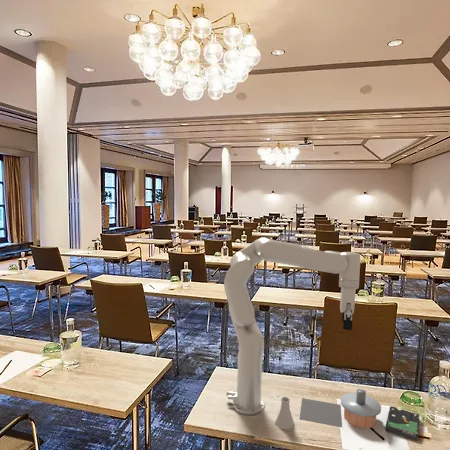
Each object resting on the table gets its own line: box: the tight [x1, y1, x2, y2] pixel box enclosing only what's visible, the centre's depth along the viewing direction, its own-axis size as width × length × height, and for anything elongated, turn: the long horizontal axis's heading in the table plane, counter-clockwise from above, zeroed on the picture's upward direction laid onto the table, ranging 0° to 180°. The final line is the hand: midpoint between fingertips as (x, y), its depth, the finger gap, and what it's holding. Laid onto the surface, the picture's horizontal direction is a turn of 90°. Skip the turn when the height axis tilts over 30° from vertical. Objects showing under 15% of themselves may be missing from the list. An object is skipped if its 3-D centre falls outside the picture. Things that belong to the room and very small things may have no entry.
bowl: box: [343, 407, 377, 429], centre depth 133 cm, size 11×11×6 cm
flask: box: [274, 396, 295, 431], centre depth 129 cm, size 7×7×10 cm
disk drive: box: [385, 406, 420, 442], centre depth 131 cm, size 10×3×15 cm
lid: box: [340, 388, 382, 417], centre depth 133 cm, size 14×14×6 cm
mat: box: [299, 397, 343, 428], centre depth 137 cm, size 15×15×1 cm
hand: (346, 325), depth 142 cm, fingers open, 9 cm apart
